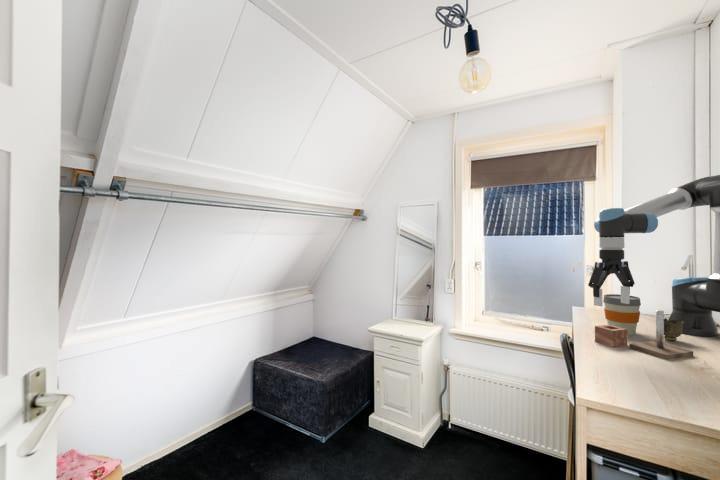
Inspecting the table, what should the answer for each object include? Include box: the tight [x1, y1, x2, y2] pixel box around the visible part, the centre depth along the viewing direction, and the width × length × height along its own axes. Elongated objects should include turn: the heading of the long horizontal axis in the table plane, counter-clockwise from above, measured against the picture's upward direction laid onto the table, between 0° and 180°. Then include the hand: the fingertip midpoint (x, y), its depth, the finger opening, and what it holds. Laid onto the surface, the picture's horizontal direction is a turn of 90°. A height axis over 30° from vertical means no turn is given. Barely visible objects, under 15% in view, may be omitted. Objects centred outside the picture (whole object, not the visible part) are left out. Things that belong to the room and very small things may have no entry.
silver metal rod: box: [655, 309, 665, 348], centre depth 114 cm, size 2×2×13 cm
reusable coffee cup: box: [602, 293, 641, 336], centre depth 139 cm, size 13×13×15 cm
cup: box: [664, 317, 684, 342], centre depth 126 cm, size 8×7×8 cm
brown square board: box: [628, 340, 694, 361], centre depth 114 cm, size 12×12×2 cm
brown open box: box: [594, 324, 628, 348], centre depth 124 cm, size 7×7×6 cm
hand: (611, 304), depth 123 cm, fingers open, 13 cm apart
